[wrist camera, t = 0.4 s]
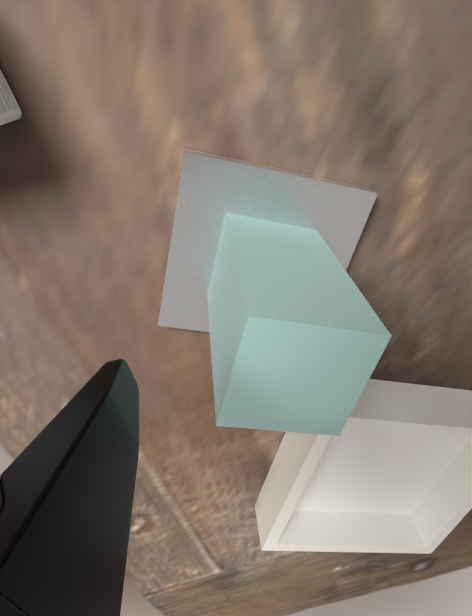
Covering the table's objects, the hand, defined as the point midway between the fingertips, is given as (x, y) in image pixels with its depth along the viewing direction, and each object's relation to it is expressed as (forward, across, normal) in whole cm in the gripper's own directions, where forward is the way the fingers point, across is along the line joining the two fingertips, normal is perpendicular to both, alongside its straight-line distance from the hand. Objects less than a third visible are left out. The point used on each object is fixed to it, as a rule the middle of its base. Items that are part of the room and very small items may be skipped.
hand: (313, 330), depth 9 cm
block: (+12, 0, +4) cm, 13 cm away
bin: (+13, -6, +25) cm, 29 cm away
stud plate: (+13, 0, +4) cm, 14 cm away
